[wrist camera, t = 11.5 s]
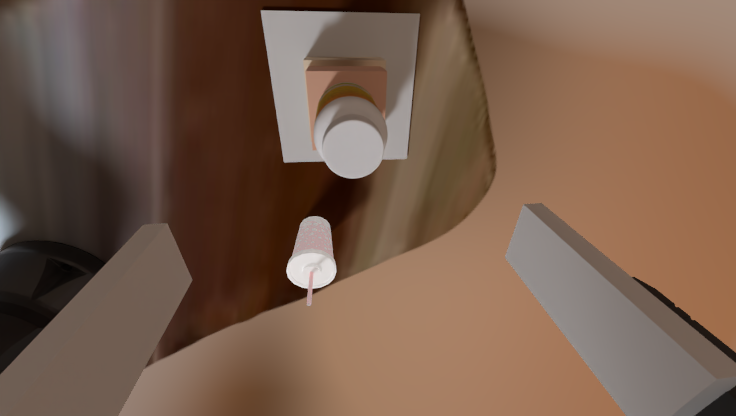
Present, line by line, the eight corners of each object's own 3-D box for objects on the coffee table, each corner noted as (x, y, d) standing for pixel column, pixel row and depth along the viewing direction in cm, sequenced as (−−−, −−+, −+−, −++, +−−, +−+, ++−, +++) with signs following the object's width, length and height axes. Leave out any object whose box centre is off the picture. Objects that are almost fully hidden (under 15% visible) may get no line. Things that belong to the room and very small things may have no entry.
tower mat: (284, 161, 37) (283, 162, 36) (261, 10, 28) (260, 10, 28) (406, 157, 38) (406, 158, 38) (418, 13, 30) (420, 13, 30)
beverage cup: (293, 210, 41) (278, 284, 29) (336, 212, 42) (338, 285, 30) (294, 244, 44) (281, 322, 32) (334, 245, 45) (335, 322, 33)
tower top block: (314, 137, 31) (312, 150, 28) (308, 66, 27) (305, 71, 24) (378, 135, 32) (383, 148, 28) (380, 66, 28) (387, 71, 25)
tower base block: (312, 130, 35) (310, 141, 31) (306, 56, 30) (303, 60, 27) (377, 129, 36) (382, 140, 32) (380, 57, 31) (386, 60, 28)
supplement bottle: (305, 99, 25) (292, 133, 17) (359, 69, 24) (373, 90, 16) (335, 150, 28) (337, 201, 20) (384, 125, 27) (407, 166, 19)
